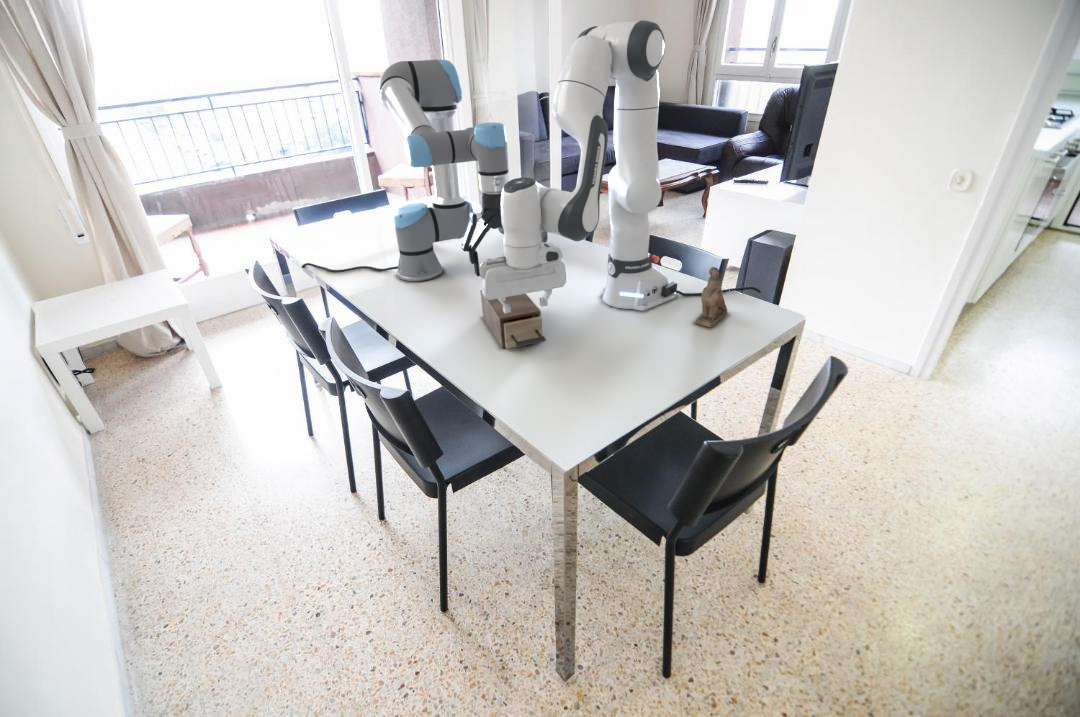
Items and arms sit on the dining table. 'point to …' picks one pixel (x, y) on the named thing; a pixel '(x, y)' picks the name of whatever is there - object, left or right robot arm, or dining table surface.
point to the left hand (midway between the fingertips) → (501, 270)
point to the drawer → (523, 331)
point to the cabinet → (496, 315)
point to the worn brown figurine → (712, 301)
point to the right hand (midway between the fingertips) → (525, 308)
